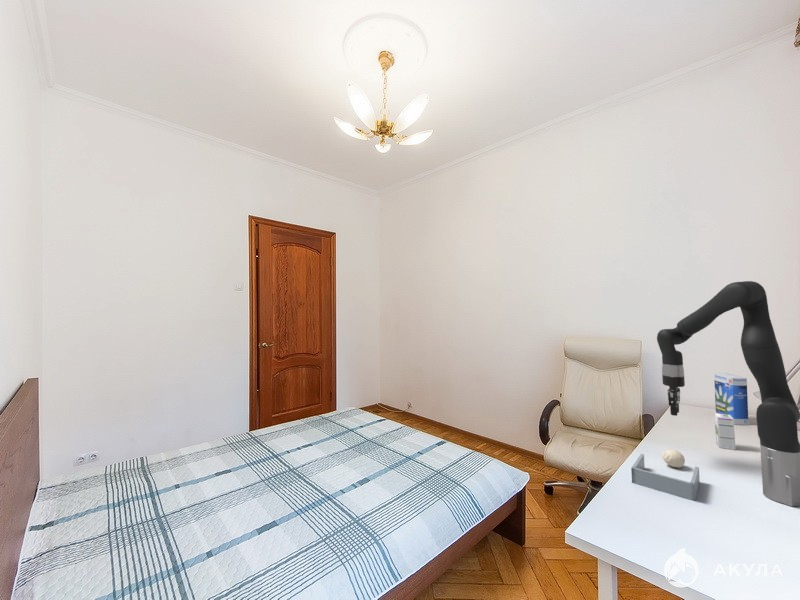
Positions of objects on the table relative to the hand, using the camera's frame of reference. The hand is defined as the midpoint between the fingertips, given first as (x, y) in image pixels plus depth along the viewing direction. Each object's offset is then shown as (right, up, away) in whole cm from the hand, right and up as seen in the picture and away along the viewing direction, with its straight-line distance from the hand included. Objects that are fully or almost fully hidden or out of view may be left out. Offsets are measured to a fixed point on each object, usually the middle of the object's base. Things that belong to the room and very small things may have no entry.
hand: (674, 413), depth 147 cm
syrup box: (+32, -19, +10) cm, 38 cm away
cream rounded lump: (-7, -20, -8) cm, 22 cm away
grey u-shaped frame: (-20, -19, -20) cm, 34 cm away
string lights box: (+68, -19, +43) cm, 83 cm away
